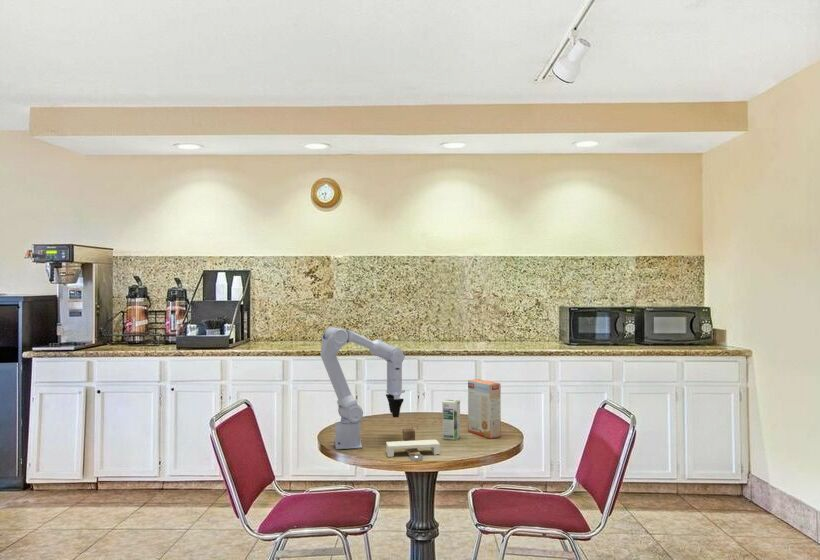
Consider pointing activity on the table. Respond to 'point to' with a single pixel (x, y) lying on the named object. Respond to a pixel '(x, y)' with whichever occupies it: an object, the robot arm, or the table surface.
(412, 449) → the brown wooden mallet
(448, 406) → the syrup box
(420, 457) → the steel disc
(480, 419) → the cracker box
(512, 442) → the table surface
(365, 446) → the table surface
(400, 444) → the shelf
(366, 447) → the table surface
